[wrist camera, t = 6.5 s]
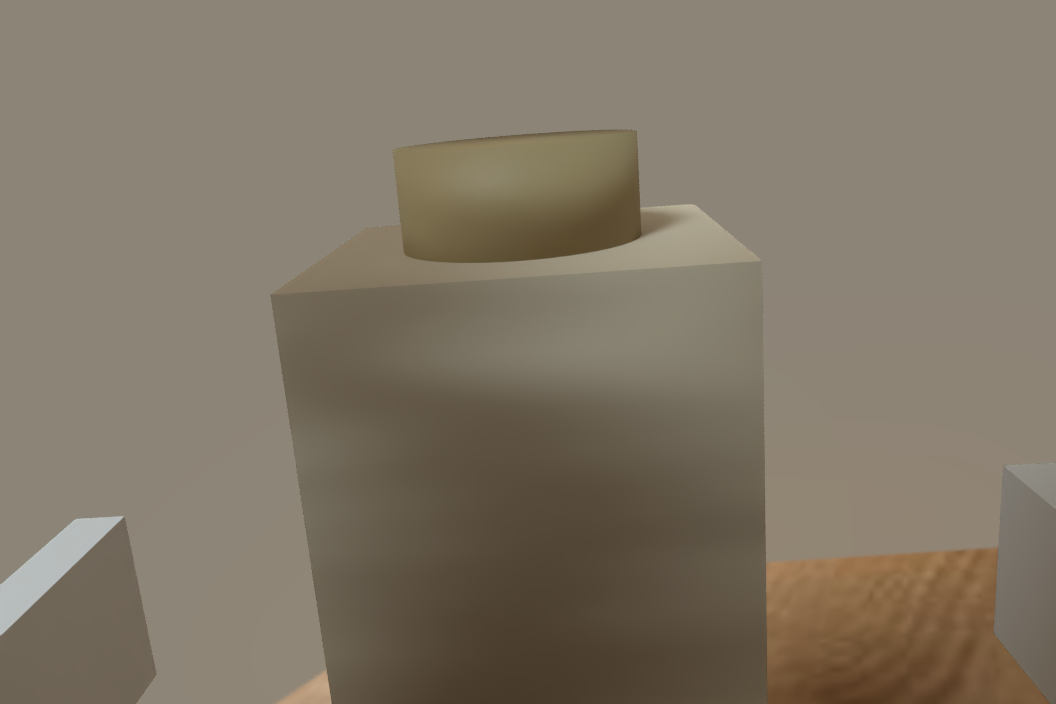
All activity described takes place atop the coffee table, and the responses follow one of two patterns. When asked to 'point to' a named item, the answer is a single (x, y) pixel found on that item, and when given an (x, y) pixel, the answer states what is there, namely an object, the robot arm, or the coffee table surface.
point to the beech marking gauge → (532, 436)
